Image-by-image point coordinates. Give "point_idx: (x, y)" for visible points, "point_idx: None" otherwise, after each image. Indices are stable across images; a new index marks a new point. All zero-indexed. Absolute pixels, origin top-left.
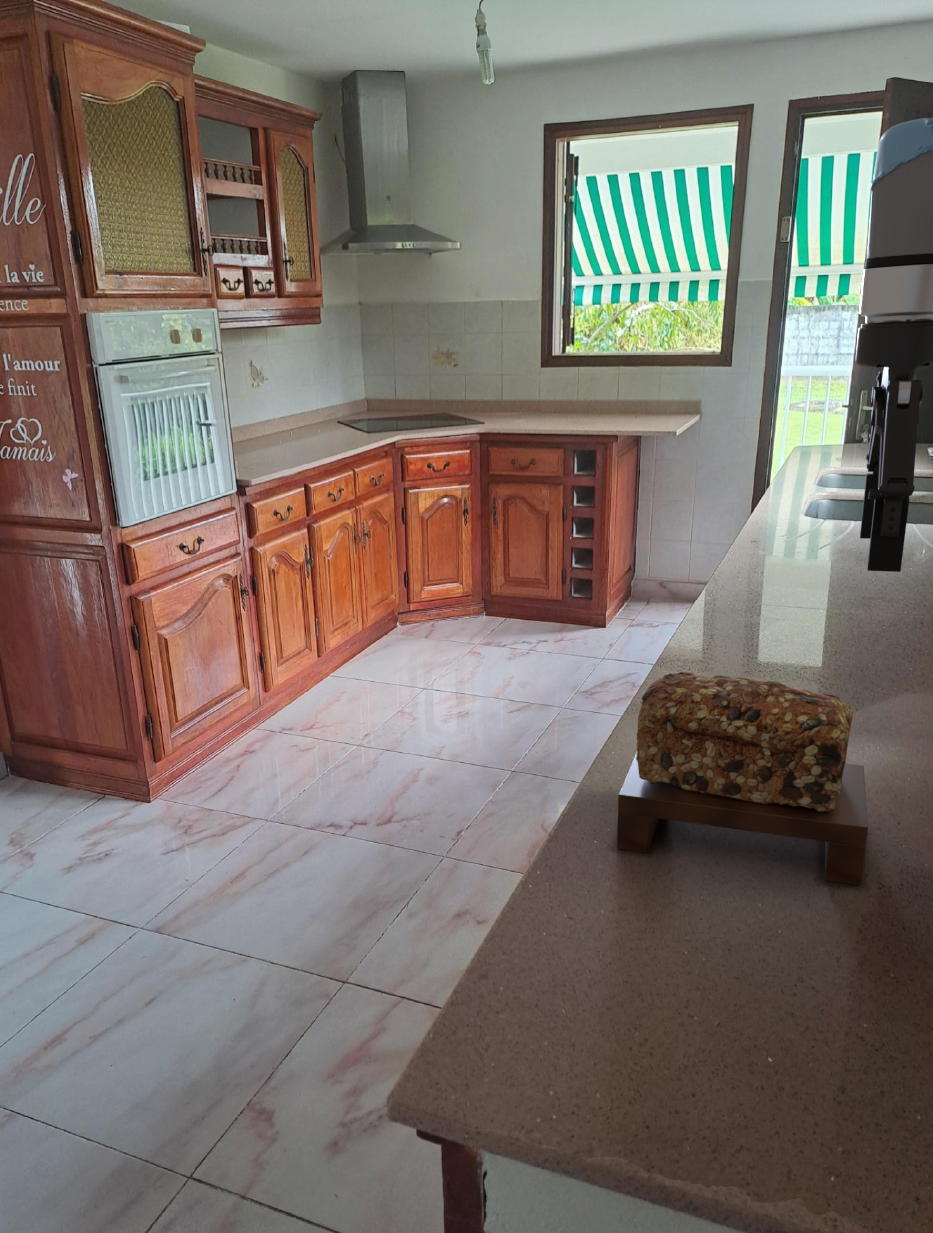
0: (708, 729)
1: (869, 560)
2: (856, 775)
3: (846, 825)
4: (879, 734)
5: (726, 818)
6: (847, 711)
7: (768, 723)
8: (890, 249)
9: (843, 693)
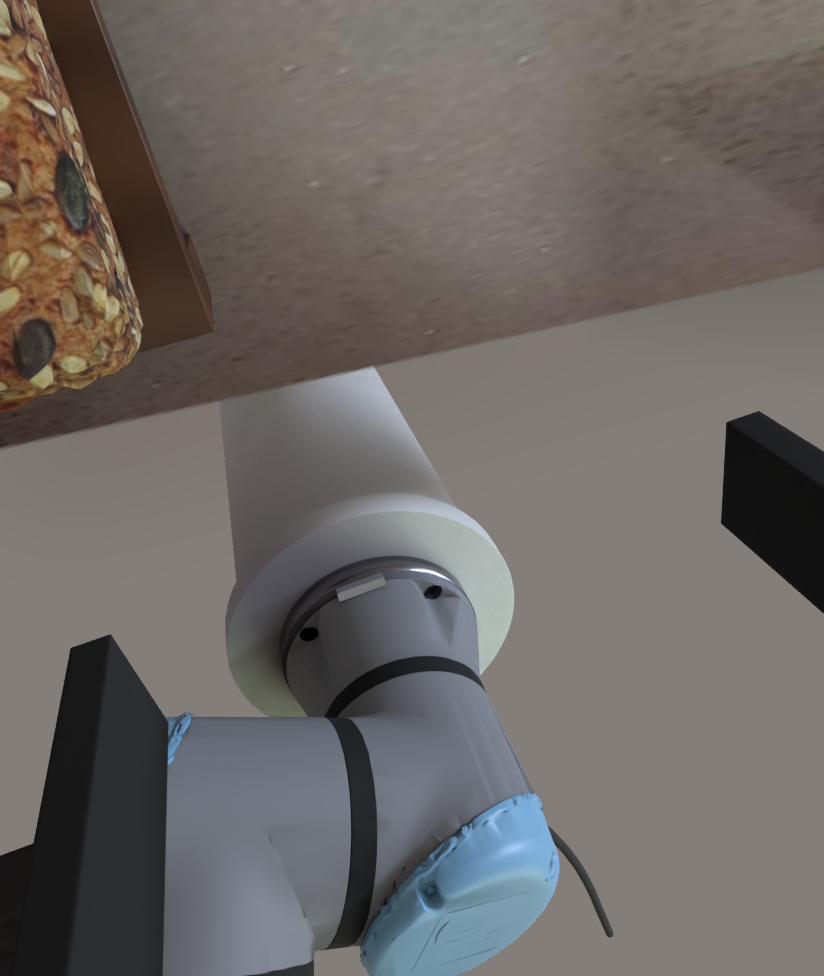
0: None
1: (64, 688)
2: (150, 332)
3: None
4: (612, 237)
5: None
6: (17, 396)
7: None
8: None
9: (819, 109)
